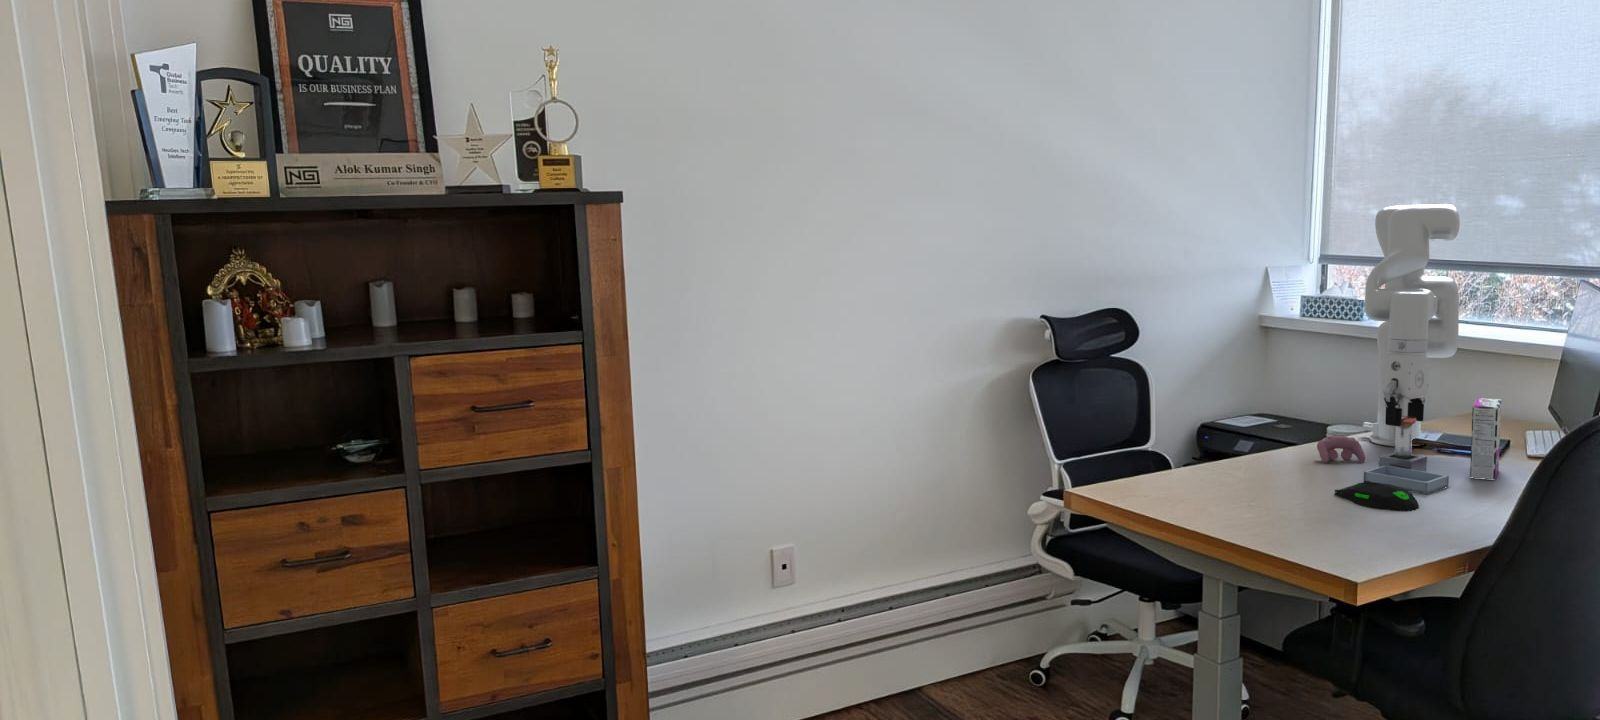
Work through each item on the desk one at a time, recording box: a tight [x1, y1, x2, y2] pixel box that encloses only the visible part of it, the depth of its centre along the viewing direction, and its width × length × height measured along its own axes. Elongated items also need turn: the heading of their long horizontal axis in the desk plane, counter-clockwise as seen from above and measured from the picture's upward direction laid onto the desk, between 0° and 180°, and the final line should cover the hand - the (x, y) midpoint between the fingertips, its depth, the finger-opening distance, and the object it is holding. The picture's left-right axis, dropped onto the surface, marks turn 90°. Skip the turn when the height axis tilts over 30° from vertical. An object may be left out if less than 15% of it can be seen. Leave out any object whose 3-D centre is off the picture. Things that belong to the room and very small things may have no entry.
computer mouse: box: [1334, 481, 1420, 512], centre depth 212 cm, size 11×16×4 cm
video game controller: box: [1316, 435, 1366, 464], centre depth 247 cm, size 10×5×7 cm, turn 84°
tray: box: [1362, 465, 1450, 495], centre depth 223 cm, size 13×9×2 cm
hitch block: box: [1378, 451, 1428, 472], centre depth 232 cm, size 7×7×4 cm
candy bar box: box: [1469, 397, 1502, 480], centre depth 229 cm, size 11×5×16 cm, turn 143°
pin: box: [1394, 416, 1416, 460], centre depth 232 cm, size 5×5×13 cm
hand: (1404, 422), depth 231 cm, fingers open, 9 cm apart
